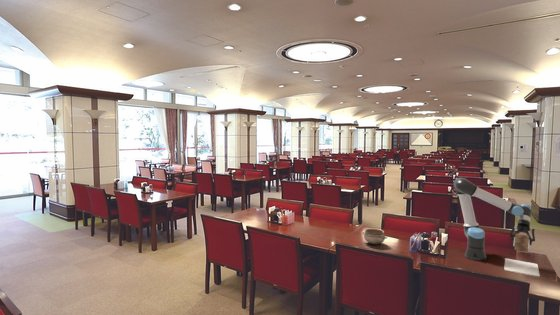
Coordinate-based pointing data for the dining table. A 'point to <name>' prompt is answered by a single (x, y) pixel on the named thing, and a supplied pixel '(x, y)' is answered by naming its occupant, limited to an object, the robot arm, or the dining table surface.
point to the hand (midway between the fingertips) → (521, 246)
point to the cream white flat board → (521, 267)
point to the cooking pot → (374, 236)
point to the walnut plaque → (521, 242)
